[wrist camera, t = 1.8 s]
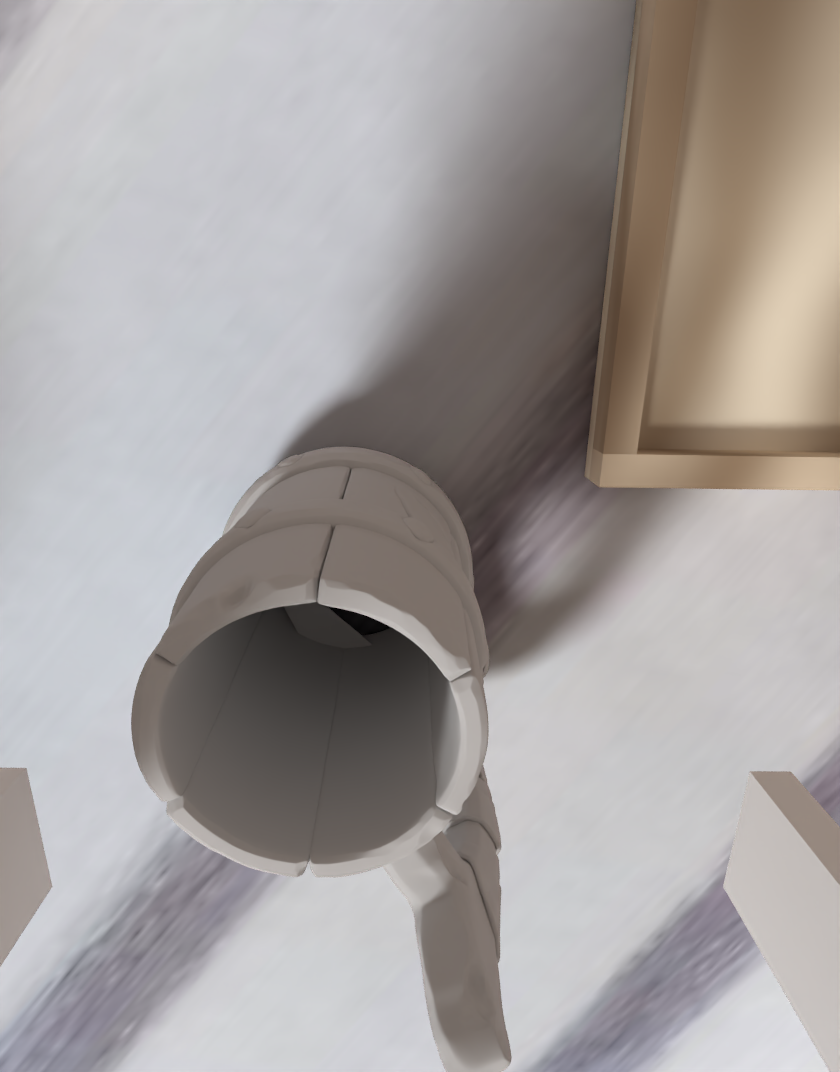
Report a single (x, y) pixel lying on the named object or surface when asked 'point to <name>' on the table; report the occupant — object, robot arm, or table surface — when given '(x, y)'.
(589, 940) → the table surface
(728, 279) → the square serving tray
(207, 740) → the mug
